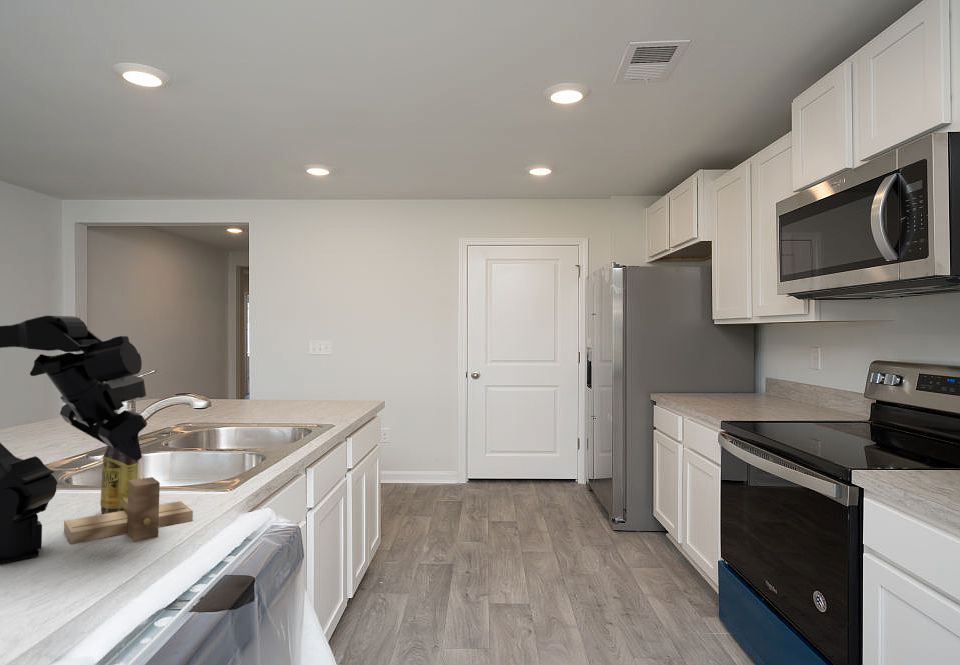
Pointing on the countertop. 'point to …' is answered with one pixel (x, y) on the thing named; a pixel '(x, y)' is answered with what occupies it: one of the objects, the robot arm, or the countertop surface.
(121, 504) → the sauce bottle
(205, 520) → the countertop surface
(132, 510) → the gauge
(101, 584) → the countertop surface
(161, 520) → the board
